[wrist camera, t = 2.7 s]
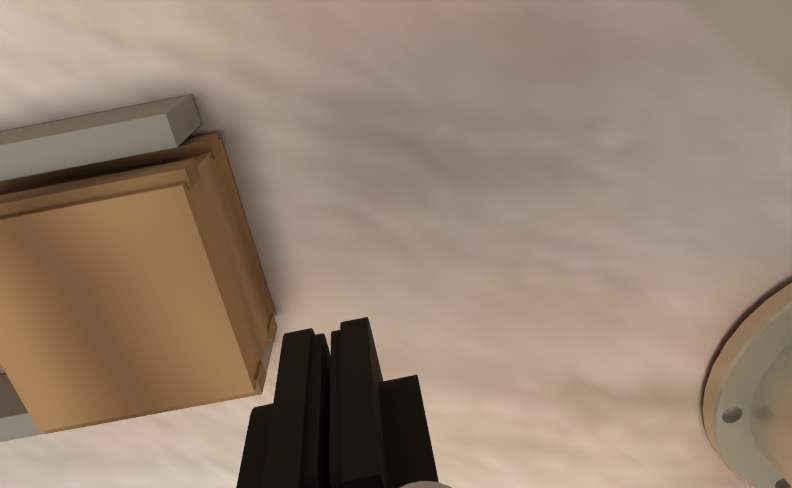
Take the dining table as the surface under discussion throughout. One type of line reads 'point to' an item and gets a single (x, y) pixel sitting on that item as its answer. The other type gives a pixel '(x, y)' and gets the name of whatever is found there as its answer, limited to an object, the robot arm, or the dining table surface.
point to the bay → (83, 145)
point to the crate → (130, 288)
